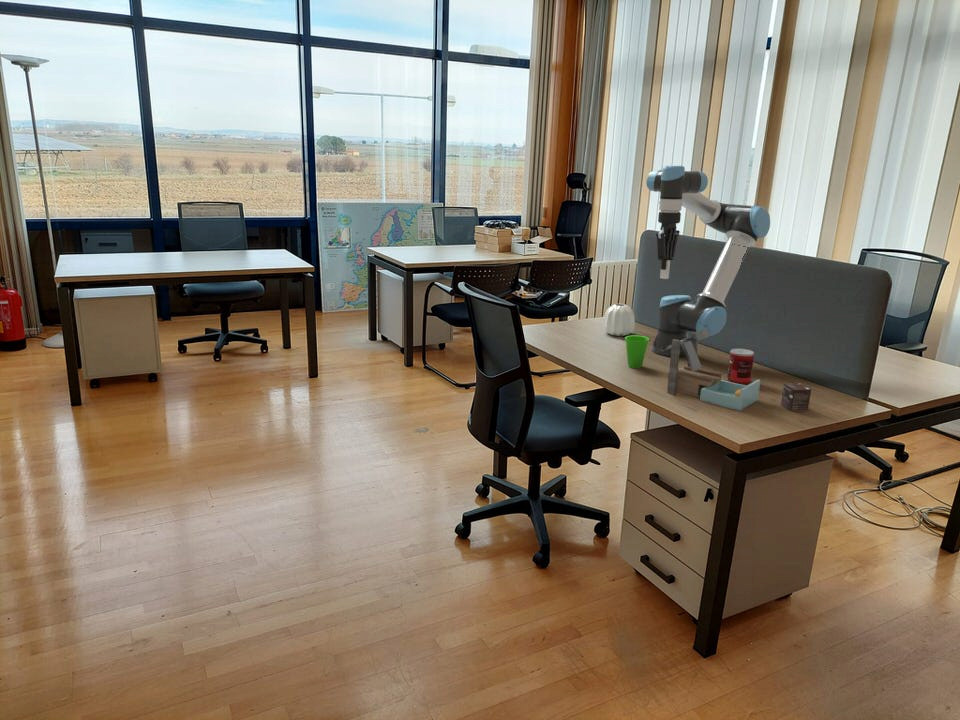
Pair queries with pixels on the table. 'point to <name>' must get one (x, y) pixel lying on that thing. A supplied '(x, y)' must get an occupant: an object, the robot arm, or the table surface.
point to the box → (796, 397)
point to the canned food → (740, 366)
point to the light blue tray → (731, 394)
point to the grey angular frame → (688, 374)
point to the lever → (690, 348)
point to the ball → (737, 393)
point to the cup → (636, 350)
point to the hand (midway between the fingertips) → (664, 278)
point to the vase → (619, 320)
